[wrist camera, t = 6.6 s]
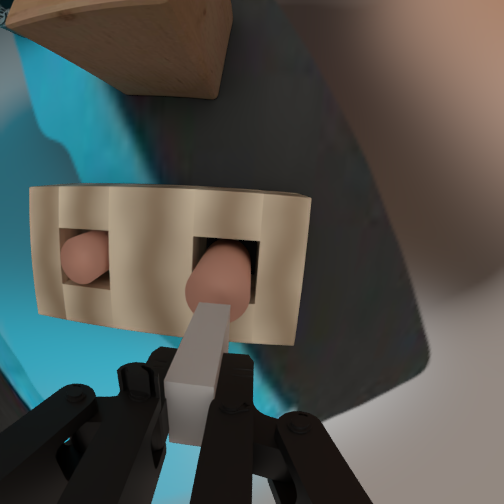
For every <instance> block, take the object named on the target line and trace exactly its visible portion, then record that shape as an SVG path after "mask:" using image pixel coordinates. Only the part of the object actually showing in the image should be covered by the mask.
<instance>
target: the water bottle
mask: <svg viewBox="0 0 504 504" xmlns="http://www.w3.org/2000/svg"><path fill="white" fill-rule="evenodd" d="M13 1H14V0H0V27H1V28H3V29H6V30H8V31H10V32H12V33H15V34H17V35H19V36H21V37H24V36H22V35H20V34H18V33H16V32H14V31H12V30H11V29H9V28H7V27H6V25H5V23H6V18H7V16H8V13H9V11H10V8H11V6H12V4H13Z"/></svg>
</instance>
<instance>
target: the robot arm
mask: <svg viewBox="0 0 504 504" xmlns="http://www.w3.org/2000/svg"><path fill="white" fill-rule="evenodd" d="M230 307H231V305H226V304H214V303H203V302H199V303H198V306H197V308H196V310H195V312H194V314H193V317H192V319H191V321H190V323H189V325H188V328H187V330H186V332H185V334H184V336H183V339H182V341H181V343H180V345H179V348H178V349H176V348H168V347H159V348H158V349H156V350H155V351H153V352H152V353H151V355H150V357H149V359H148V361H147V362H146V363H138V362H134V363H128V364H125V365H123V366H121V367H120V368H119V369H118V370H117V374H118V381H119V387H120V392H119V394H118V396H112V397H96V395H95V392H94V390H93V389H92V388H90V387H89V386H87V385H84V384H70V385H66V386H65V387H63V388H61V389H59V390H58V391H57V392H55V393H54V394H53V395H51V396H50V397H49V398H47V399H46V400H45V401H43V402H42V403H40V404H39V405H38V406H36V407H35V408H34V409H32V410H31V411H30V412H28V413H27V414H26V415H24V416H23V417H22V418H20V419H19V420H17V421H16V422H15V423H13V424H12V425H11V426H9V427H8V428H7V429H5V430H4V431H3V432H1V433H0V504H151V502H152V498H153V495H154V492H155V489H156V485H157V482H158V478H159V475H160V472H161V469H162V465H163V462H164V459H165V455H166V443H165V442H166V439H167V436H168V433H169V442H172V443H179V444H185V445H193V446H200V447H201V450H200V454H199V459H198V464H197V469H196V474H195V479H194V484H193V489H192V494H191V500H190V504H252V474H255V475H259V476H262V477H265V478H267V479H268V483H269V486H270V489H271V491H272V494H273V497H274V499H275V502H276V504H373V503H372V502H371V500H370V498H369V497H368V495H367V494H366V492H365V491H364V489H363V487H362V486H361V485H360V483H359V482H358V480H357V478H356V477H355V475H354V473H353V472H352V470H351V469H350V467H349V466H348V464H347V462H346V461H345V459H344V458H343V456H342V455H341V453H340V452H339V450H338V448H337V447H336V445H335V443H334V442H333V441H332V439H331V437H330V435H329V434H328V432H327V431H326V429H325V428H324V426H323V424H322V423H321V421H320V420H319V419H318V418H317V417H316V416H314V415H312V414H310V413H306V412H302V411H292V412H289V413H285V414H284V415H282V416H281V417H279V419H277V418H273V417H270V416H267V415H264V414H263V413H261V412H259V411H258V410H257V409H256V408H255V406H254V404H253V369H254V362H253V360H252V359H251V358H250V356H249V355H245V354H233V353H228V343H229V325H230ZM68 438H70V439H69V440H68V441H67V442H65V441H66V440H67V439H68ZM64 442H65V443H64Z"/></svg>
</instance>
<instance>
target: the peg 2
mask: <svg viewBox="0 0 504 504" xmlns="http://www.w3.org/2000/svg"><path fill="white" fill-rule="evenodd" d="M250 285H251V257H250V254H249V251H248V250H247V248H246V247H245V246H244V245H243V244H242V243H241V242H239V241H237V240H234V239H220V240H217V241H215V242H214V243H212V244H211V245H210V246H209V247H208V249H207V250H206V252H205V253H204V255H203V256H202V258H201V259H200V261H199V263H198V264H197V266H196V267H195V269H194V270H193V272H192V274H191V275H190V277H189V279H188V280H187V283H186V287H185V298H186V302H187V304H188V306H189V308H190V310H191V311H192V312H193V313H194V312H195V310H196V308H197V306H198V303H199V302H203V303H214V304H226V305H231V307H230V322H233V321H235V320H237V319H238V318H239V317H240V316H242V315H243V313H244V312H245V311H246V309H247V307H248V305H249V302H250Z"/></svg>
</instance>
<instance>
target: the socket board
mask: <svg viewBox="0 0 504 504" xmlns="http://www.w3.org/2000/svg"><path fill="white" fill-rule="evenodd" d="M29 195H30V196H29V204H30V205H29V206H30V207H29V209H30V210H29V211H30V240H31V254H32V266H33V276H34V283H35V284H34V285H35V293H36V300H37V306H38V313H39V314H41V315H46V316H51V317H56V318H61V319H66V320H71V321H77V322H82V323H87V324H93V325H99V326H105V327H111V328H118V329H124V330H131V331H138V332H145V333H153V334H160V335H169V336H177V337H183V336H184V334H185V332H186V330H187V328H188V325H189V323H190V321H191V319H192V317H193V314H194V313H193V312H192V311H191V310H190V308H189V306H188V304H187V302H186V298H185V287H186V283H187V280H188V279H189V277H190V275H191V274H192V272H193V270H194V269H195V267H196V266H197V264H198V263H199V261H200V259H201V258H202V256H203V255H204V253H205V252H206V245H207V237H210V238H224V239H238V240H252V241H257V250H256V262H255V275H251V285H250V302H249V305H248V307H247V309H246V311H245V312H244V313H243V315H242V316H240V317H239V318H238V319H237V320H235V321H233V322H230V325H229V342H241V343H256V344H273V345H294V340H295V333H296V326H297V319H298V312H299V304H300V297H301V289H302V281H303V273H304V264H305V255H306V247H307V237H308V228H309V218H310V208H311V198H310V197H307V196H304V195H301V194H298V193H289V192H277V191H265V190H253V189H239V188H223V187H206V186H186V185H161V184H121V183H71V184H57V185H47V186H36V187H30V190H29ZM91 230H105V231H109V270H108V271H107V272H105V273H104V274H102V275H101V276H99V277H98V278H96V279H95V280H93V281H92V282H90V283H88V284H78V283H76V282H74V281H72V280H71V279H70V278H69V277H68V276H67V275H66V274H65V272H64V270H63V268H62V265H61V260H60V254H61V249H62V247H63V245H64V243H65V242H66V241H67V240H68V239H70V238H72V237H75V236H78V235H80V234H83V233H86V232H88V231H91Z"/></svg>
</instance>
